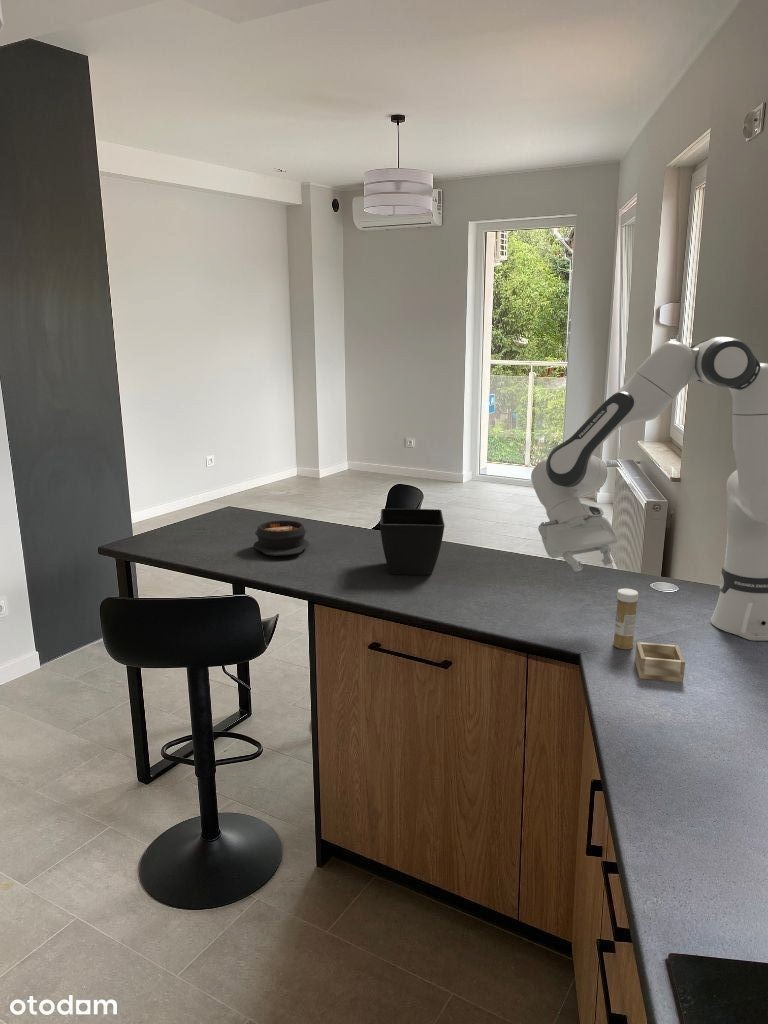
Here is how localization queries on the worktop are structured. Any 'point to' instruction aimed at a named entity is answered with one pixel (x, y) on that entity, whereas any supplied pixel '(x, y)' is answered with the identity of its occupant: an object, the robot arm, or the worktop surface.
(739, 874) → the worktop surface
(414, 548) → the flower pot
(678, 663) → the box
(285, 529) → the casserole
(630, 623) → the sprinkles bottle
